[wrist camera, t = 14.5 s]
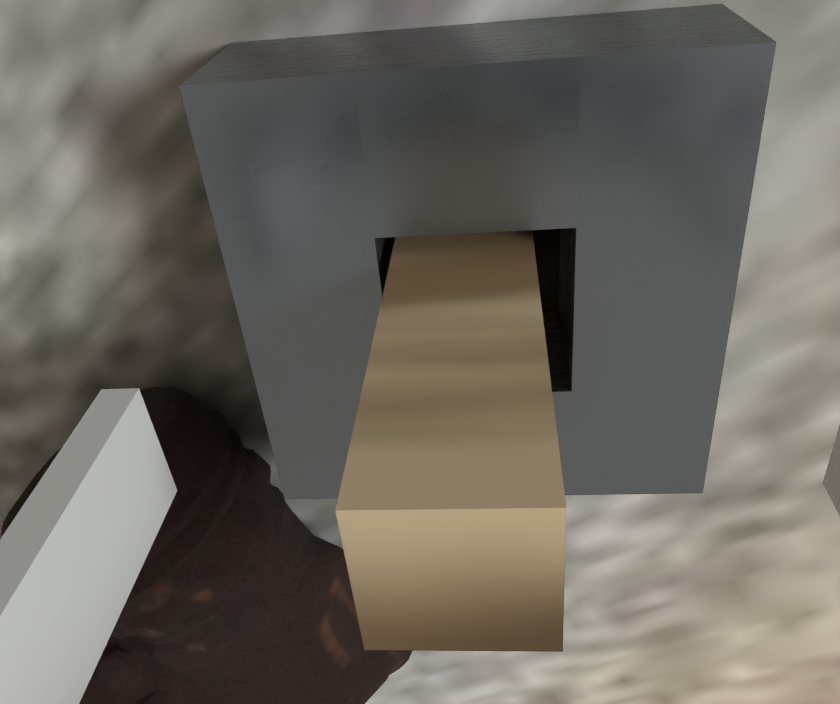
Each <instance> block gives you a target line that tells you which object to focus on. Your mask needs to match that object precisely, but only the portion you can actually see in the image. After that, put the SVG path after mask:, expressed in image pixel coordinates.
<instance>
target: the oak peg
mask: <svg viewBox="0 0 840 704" xmlns="http://www.w3.org/2000/svg"><path fill="white" fill-rule="evenodd" d="M335 511H336V516H337V521H338V526H339V531H340V535H341V540H342V545H343V550H344V555H345V559H346V564H347V569H348V574H349V579H350V583H351V588H352V593H353V598H354V602H355V607H356V612H357V617H358V622H359V626H360V631H361V636H362V641H363V646H364V650H437V651H563V616H564V578H565V540H566V501H565V493H564V485H563V476H562V468H561V460H560V452H559V444H558V436H557V428H556V419H555V411H554V403H553V395H552V387H551V379H550V371H549V362H548V354H547V346H546V338H545V330H544V322H543V314H542V305H541V297H540V289H539V281H538V273H537V265H536V257H535V248H534V240H533V232H532V230H525V231H505V232H485V233H466V234H446V235H426V236H406V237H395V242H394V246H393V251H392V255H391V260H390V264H389V269H388V274H387V278H386V283H385V287H384V292H383V296H382V301H381V305H380V310H379V314H378V319H377V323H376V328H375V333H374V337H373V342H372V346H371V351H370V355H369V360H368V364H367V369H366V373H365V378H364V383H363V387H362V392H361V396H360V401H359V405H358V410H357V414H356V419H355V423H354V428H353V432H352V437H351V442H350V446H349V451H348V455H347V460H346V464H345V469H344V473H343V478H342V482H341V487H340V492H339V496H338V501H337V505H336V510H335Z"/></svg>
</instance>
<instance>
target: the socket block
mask: <svg viewBox="0 0 840 704" xmlns="http://www.w3.org/2000/svg"><path fill="white" fill-rule="evenodd" d="M775 46H776V41H774V40H773V39H771V38H770V37H768V36H767V35H766V34H764V33H763V32H761V31H760V30H759V29H757V28H756V27H754V26H753V25H751V24H750V23H749V22H747V21H746V20H744V19H743V18H742V17H740V16H739V15H737V14H736V13H734V12H733V11H732V10H730V9H729V8H727V7H726V6H725V5H723V4H716V5H704V6H691V7H679V8H666V9H653V10H641V11H628V12H616V13H603V14H591V15H578V16H565V17H553V18H540V19H528V20H515V21H502V22H490V23H477V24H465V25H452V26H439V27H427V28H414V29H402V30H389V31H376V32H364V33H351V34H339V35H326V36H313V37H301V38H288V39H276V40H263V41H250V42H238V43H230V44H229V45H228V46H227V47H225V48H224V49H223V50H222V51H221V52H219V53H218V54H217V55H216V56H215V57H213V58H212V59H211V60H210V61H209V62H207V63H206V64H205V65H204V66H202V67H201V68H200V69H199V70H198V71H196V72H195V73H194V74H193V75H192V76H190V77H189V78H188V79H187V80H185V81H184V82H183V83H182V84H181V85H179V89H180V93H181V97H182V101H183V105H184V109H185V113H186V116H187V120H188V124H189V128H190V132H191V136H192V140H193V144H194V148H195V151H196V155H197V159H198V163H199V167H200V171H201V175H202V179H203V183H204V186H205V190H206V194H207V198H208V202H209V206H210V210H211V214H212V217H213V221H214V225H215V229H216V233H217V237H218V241H219V245H220V249H221V252H222V256H223V260H224V264H225V268H226V272H227V276H228V280H229V284H230V287H231V291H232V295H233V299H234V303H235V307H236V311H237V315H238V319H239V322H240V326H241V330H242V334H243V338H244V342H245V346H246V350H247V354H248V357H249V361H250V365H251V369H252V373H253V377H254V381H255V385H256V389H257V392H258V396H259V400H260V404H261V408H262V412H263V416H264V420H265V424H266V427H267V431H268V435H269V439H270V443H271V447H272V451H273V455H274V459H275V462H276V466H277V470H278V474H279V478H280V482H281V486H282V490H283V493H284V497H285V499H320V498H338V496H339V492H340V487H341V482H342V478H343V473H344V469H345V464H346V460H347V455H348V451H349V446H350V442H351V437H352V432H353V428H354V423H355V419H356V414H357V410H358V405H359V401H360V396H361V392H362V387H363V383H364V378H365V373H366V369H367V364H368V360H369V355H370V351H371V346H372V342H373V337H374V333H375V328H376V323H377V319H378V314H379V310H380V305H381V301H382V296H383V292H384V287H385V283H386V278H387V274H388V269H389V264H390V260H391V255H392V251H393V246H394V242H395V237H406V236H426V235H446V234H466V233H485V232H505V231H525V230H545V229H560V274H559V311H557V312H542V314H543V322H544V330H545V338H546V346H547V354H548V362H549V371H550V379H551V387H552V395H553V403H554V411H555V419H556V428H557V436H558V444H559V452H560V460H561V468H562V476H563V485H564V493H565V495H603V494H674V493H703V487H704V481H705V475H706V469H707V463H708V457H709V451H710V445H711V438H712V432H713V426H714V420H715V414H716V408H717V402H718V396H719V389H720V383H721V377H722V371H723V365H724V359H725V353H726V347H727V340H728V334H729V328H730V322H731V316H732V310H733V304H734V298H735V291H736V285H737V279H738V273H739V267H740V261H741V255H742V249H743V242H744V236H745V230H746V224H747V218H748V212H749V206H750V199H751V193H752V187H753V181H754V175H755V169H756V163H757V157H758V150H759V144H760V138H761V132H762V126H763V120H764V114H765V108H766V101H767V95H768V89H769V83H770V77H771V71H772V65H773V59H774V52H775Z"/></svg>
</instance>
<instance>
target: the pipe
mask: <svg viewBox="0 0 840 704" xmlns="http://www.w3.org/2000/svg"><path fill="white" fill-rule="evenodd" d="M140 392H141V395H142V398H143V400H144V403H145V406H146V408H147V411H148V414H149V416H150V419H151V422H152V424H153V427H154V430H155V432H156V435H157V438H158V440H159V443H160V446H161V448H162V451H163V454H164V456H165V459H166V462H167V464H168V467H169V470H170V472H171V475H172V478H173V480H174V483H175V486H176V488H177V492H176V494H175V497H174V499H173V501H172V503H171V505H170V507H169V510H168V512H167V514H166V516H165V518H164V520H163V523H162V525H161V527H160V529H159V531H158V533H157V536H156V538H155V540H154V542H153V544H152V546H151V549H150V551H149V553H148V555H147V557H146V560H145V562H144V564H143V566H142V568H141V570H140V573H139V575H138V577H137V579H136V581H135V583H134V586H133V588H132V590H131V592H130V594H129V596H128V599H127V601H126V603H125V605H124V607H123V609H122V612H121V614H120V616H119V618H118V620H117V622H116V625H115V627H114V629H113V631H112V633H111V636H110V638H109V640H108V642H107V644H106V646H105V649H104V651H103V653H102V655H101V657H100V659H99V662H98V664H97V666H96V668H95V670H94V672H93V675H92V677H91V679H90V681H89V683H88V685H87V688H86V690H85V692H84V694H83V696H82V699H81V701H80V703H79V704H365V703H366V702H367V701H368V699H369V698H370V697H371V696H372V695H373V694H374V693H375V692H376V691H377V690H378V689H379V687H380V686H381V685H382V684H383V683H384V682H385V681H386V680H387V678H388V676H389V675H390V674H392V673H393V672H395V671H397V670H398V669H400V668H401V667H402V666H403V665H404V664H405V663H406V662H407V661H408V659H409V657H410V655H411V653H412V651H413V650H364V646H363V641H362V636H361V631H360V626H359V622H358V617H357V612H356V607H355V602H354V598H353V593H352V588H351V583H350V579H349V574H348V569H347V564H346V559H345V555H344V550H343V549H341V548H340V547H339V546H336V545H334V544H332V543H329V542H327V541H325V540H323V539H320V538H318V537H316V536H314V535H313V534H312V533H311V532H310V531H309V530H308V529H307V528H306V526H305V525H304V524H303V523H302V522H301V521H300V520H299V519H298V517H297V516H296V515H295V514H294V513H293V512H292V510H291V509H290V508H289V506H288V505H287V504H286V502H285V500H284V496H283V494H282V492H281V491H280V490H279V489H278V488H277V487H274V486H272V485H271V483H270V475H271V470H270V465H269V464H268V463H267V462H266V461H264V460H263V459H262V458H261V457H260V456H259V455H258V454H257V453H256V452H255V451H254V450H248V449H243V447H242V443H241V439H240V436H239V435H238V433H237V432H236V431H234V430H232V429H230V428H227V421H226V419H225V418H224V416H223V415H221V414H218V413H215V412H212V411H209V410H207V409H206V408H205V407H204V406H203V405H202V403H201V402H200V401H199V400H198V399H197V398H196V397H194V396H192V395H191V394H189V393H188V392H185V391H183V390H180V389H176V388H171V387H166V388H158V387H153V388H149V389H144V390H141V391H140ZM62 447H63V446H62ZM62 447H61V448H62ZM61 448H60V449H59V450H58V451H57V452H56V453H55V454H54V455H53V456H52V458H51V459H50V460H49V461H48V462H47V463H46V464H45V465H44V466H43V468H42V469H41V470H40V471H39V472H38V473H37V474H36V476H35V477H34V478H33V480H32V481H31V482H30V484H29V485H28V486H27V488H26V489H25V490H24V492H23V493H22V495H21V496H20V498H19V499H18V500H17V502H16V503H15V505H14V506H13V507H12V509H11V510H10V512H9V514H8V515H7V517H6V519H5V521H4V522H3V526H2V533H1V537H2V536H3V534H4V533H5V531H6V530H7V529H8V527H9V526H10V524H11V523H12V521H13V520H14V518H15V517H16V515H17V514H18V512H19V511H20V509H21V508H22V506H23V505H24V503H25V502H26V500H27V499H28V497H29V496H30V494H31V493H32V491H33V490H34V488H35V487H36V486H37V484H38V483H39V481H40V480H41V478H42V477H43V475H44V474H45V472H46V471H47V469H48V468H49V466H50V465H51V463H52V462H53V460H54V459H55V457H56V456H57V454H58V453H59V451H60V450H61Z"/></svg>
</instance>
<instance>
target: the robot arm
mask: <svg viewBox="0 0 840 704" xmlns="http://www.w3.org/2000/svg"><path fill="white" fill-rule="evenodd" d="M823 484H824V486H825V488H826V490H827V492H828V494H829V496H830V498H831V500H832V502H833V504H834V506H835V508H836V510H837V512H838V514H839V516H840V426H839V429H838V433H837V436H836V440H835V443H834V447H833V450H832V453H831V457H830V460H829V464H828V467H827V470H826V474H825V477H824V481H823ZM176 492H177V488H176V486H175V483H174V480H173V478H172V475H171V472H170V470H169V467H168V464H167V462H166V459H165V456H164V454H163V451H162V448H161V446H160V443H159V440H158V438H157V435H156V432H155V430H154V427H153V424H152V422H151V419H150V416H149V414H148V411H147V408H146V406H145V403H144V400H143V398H142V395H141V392H140V390H139V388H129V389H101V391H100V392H99V394H98V395H97V397H96V398H95V400H94V401H93V402H92V404H91V405H90V407H89V408H88V410H87V411H86V413H85V414H84V416H83V417H82V419H81V420H80V422H79V423H78V425H77V426H76V428H75V429H74V431H73V432H72V434H71V435H70V437H69V438H68V440H67V441H66V443H65V444H64V445H63V447H62V448H61V450H60V451H59V453H58V454H57V456H56V457H55V459H54V460H53V462H52V463H51V465H50V466H49V468H48V469H47V471H46V472H45V474H44V475H43V477H42V478H41V480H40V481H39V483H38V484H37V486H36V487H35V488H34V490H33V491H32V493H31V494H30V496H29V497H28V499H27V500H26V502H25V503H24V505H23V506H22V508H21V509H20V511H19V512H18V514H17V515H16V517H15V518H14V520H13V521H12V523H11V524H10V526H9V527H8V529H7V530H6V531H5V533H4V534H3V536H2V537H1V539H0V704H79V703H80V701H81V699H82V696H83V694H84V692H85V690H86V688H87V685H88V683H89V681H90V679H91V677H92V675H93V672H94V670H95V668H96V666H97V664H98V662H99V659H100V657H101V655H102V653H103V651H104V649H105V646H106V644H107V642H108V640H109V638H110V636H111V633H112V631H113V629H114V627H115V625H116V622H117V620H118V618H119V616H120V614H121V612H122V609H123V607H124V605H125V603H126V601H127V599H128V596H129V594H130V592H131V590H132V588H133V586H134V583H135V581H136V579H137V577H138V575H139V573H140V570H141V568H142V566H143V564H144V562H145V560H146V557H147V555H148V553H149V551H150V549H151V546H152V544H153V542H154V540H155V538H156V536H157V533H158V531H159V529H160V527H161V525H162V523H163V520H164V518H165V516H166V514H167V512H168V510H169V507H170V505H171V503H172V501H173V499H174V497H175V494H176Z"/></svg>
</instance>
